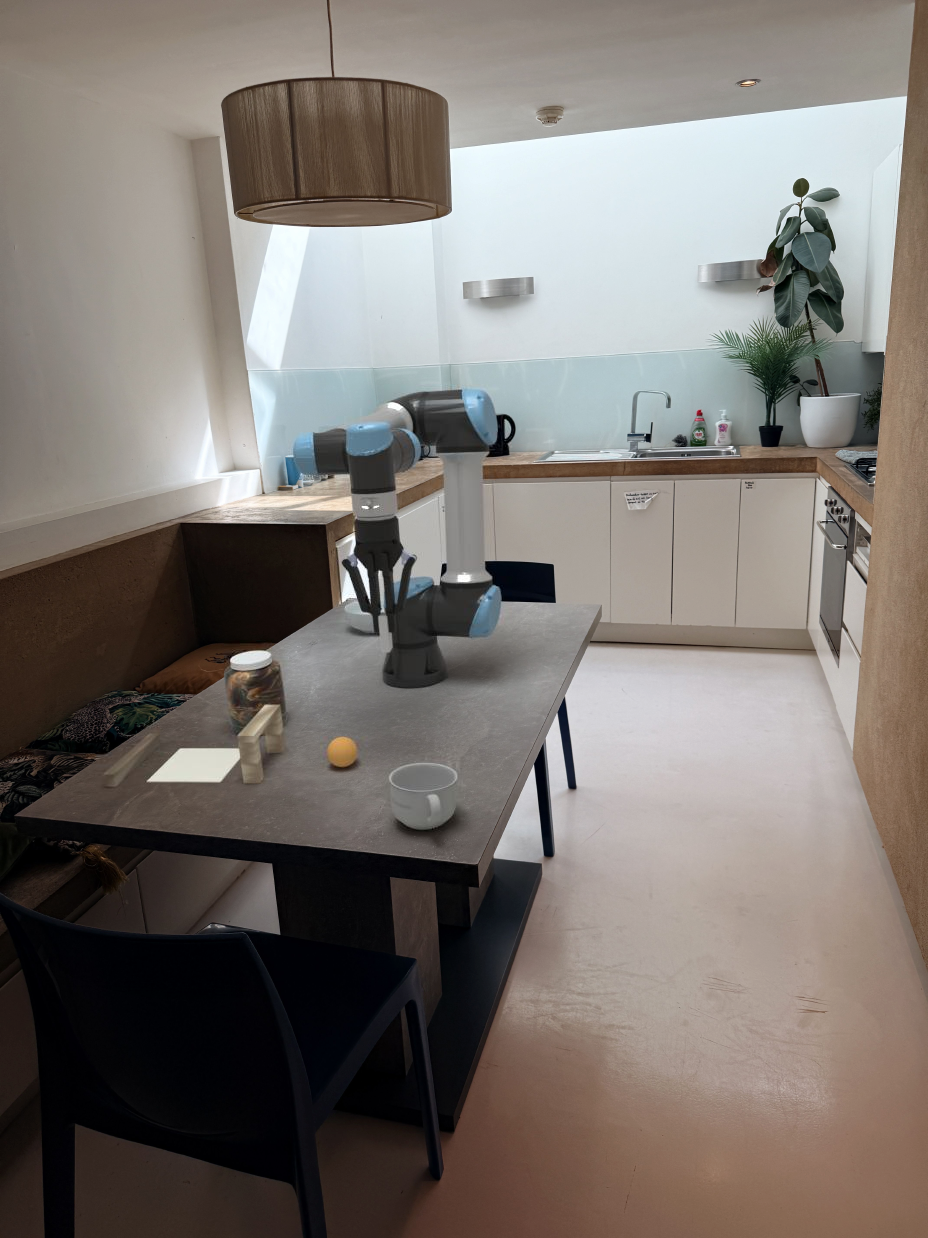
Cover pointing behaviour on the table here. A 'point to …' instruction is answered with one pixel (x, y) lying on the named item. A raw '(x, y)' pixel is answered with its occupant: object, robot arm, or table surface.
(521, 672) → the table surface
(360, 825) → the table surface
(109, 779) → the stopper
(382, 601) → the cereal bowl
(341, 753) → the ball
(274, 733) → the bridge
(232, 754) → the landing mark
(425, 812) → the teacup
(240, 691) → the jar
